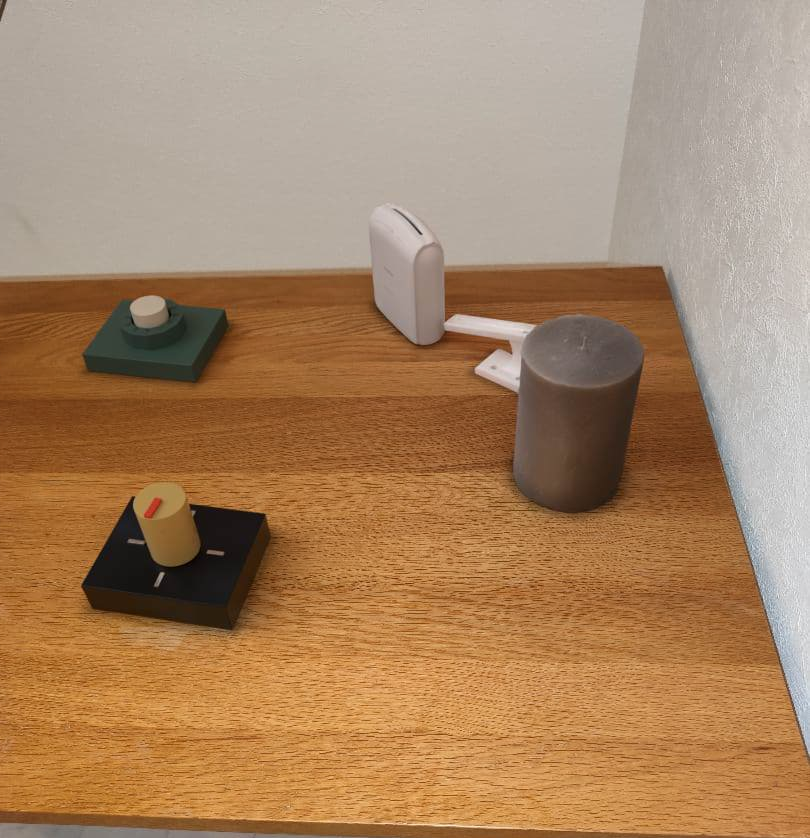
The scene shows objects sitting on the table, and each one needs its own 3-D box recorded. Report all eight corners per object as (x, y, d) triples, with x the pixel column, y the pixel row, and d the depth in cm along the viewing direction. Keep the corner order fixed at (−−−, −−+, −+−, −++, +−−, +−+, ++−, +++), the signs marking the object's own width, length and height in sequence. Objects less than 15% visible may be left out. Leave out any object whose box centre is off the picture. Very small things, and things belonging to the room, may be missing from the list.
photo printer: (369, 304, 99) (361, 199, 90) (402, 293, 101) (398, 187, 91) (415, 352, 93) (412, 244, 84) (450, 339, 94) (450, 231, 85)
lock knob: (164, 525, 74) (146, 475, 69) (208, 534, 73) (193, 483, 68) (142, 561, 71) (122, 511, 67) (188, 570, 70) (171, 520, 66)
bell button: (128, 328, 92) (124, 313, 90) (142, 308, 94) (138, 293, 93) (161, 331, 91) (157, 316, 90) (174, 311, 93) (170, 296, 92)
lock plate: (91, 608, 72) (79, 584, 70) (140, 519, 78) (131, 494, 76) (232, 630, 70) (225, 606, 68) (271, 537, 76) (265, 511, 74)
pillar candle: (637, 502, 78) (669, 362, 66) (529, 522, 77) (543, 382, 65) (598, 430, 84) (621, 291, 73) (498, 447, 83) (506, 309, 72)
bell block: (88, 371, 93) (76, 339, 90) (126, 316, 99) (117, 284, 96) (196, 382, 91) (187, 350, 88) (228, 326, 97) (221, 294, 94)
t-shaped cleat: (600, 430, 84) (608, 384, 80) (432, 354, 93) (432, 309, 89) (622, 408, 86) (630, 362, 82) (455, 335, 95) (456, 290, 91)
